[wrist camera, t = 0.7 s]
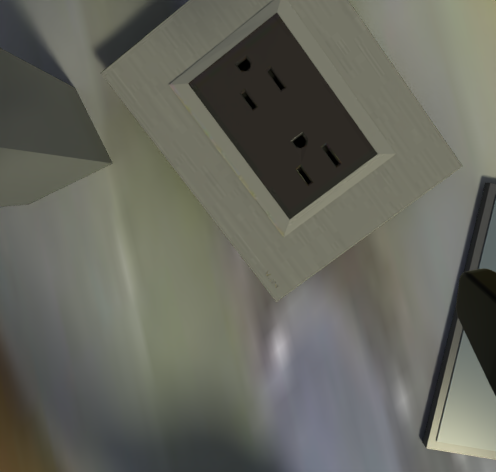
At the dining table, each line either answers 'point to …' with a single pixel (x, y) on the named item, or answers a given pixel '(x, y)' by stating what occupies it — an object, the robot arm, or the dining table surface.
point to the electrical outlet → (283, 127)
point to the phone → (467, 366)
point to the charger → (42, 134)
